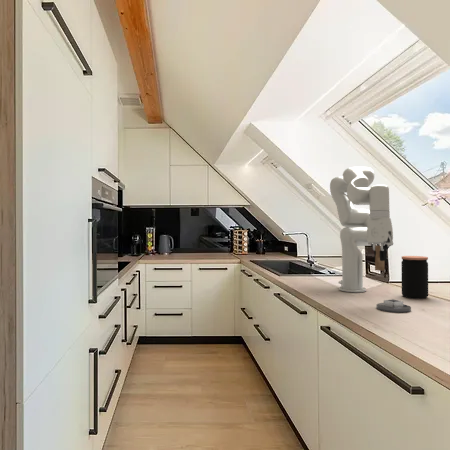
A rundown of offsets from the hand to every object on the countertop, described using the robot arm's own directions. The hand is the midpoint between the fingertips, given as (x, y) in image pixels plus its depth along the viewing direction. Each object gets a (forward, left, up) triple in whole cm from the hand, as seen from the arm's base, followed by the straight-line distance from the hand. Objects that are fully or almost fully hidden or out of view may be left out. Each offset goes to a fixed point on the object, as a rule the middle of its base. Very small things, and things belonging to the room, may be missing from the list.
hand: (380, 260), depth 149 cm
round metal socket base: (+9, -2, -18) cm, 20 cm away
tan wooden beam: (0, -1, -4) cm, 4 cm away
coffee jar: (-5, +26, -18) cm, 32 cm away
